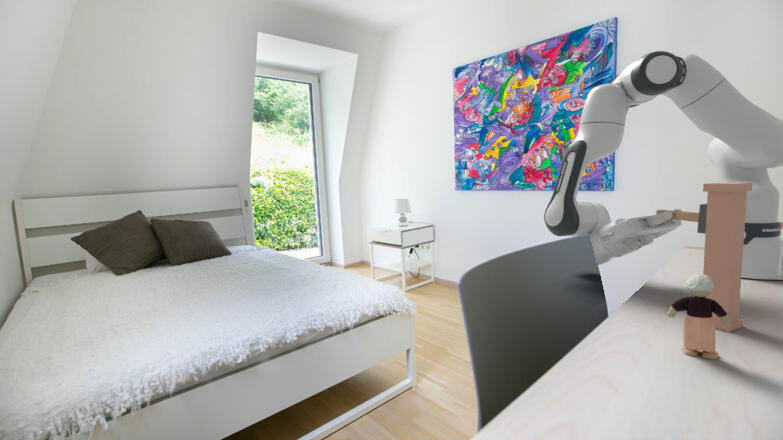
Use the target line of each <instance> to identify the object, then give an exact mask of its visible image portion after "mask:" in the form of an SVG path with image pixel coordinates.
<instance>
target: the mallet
mask: <svg viewBox="0 0 783 440" xmlns="http://www.w3.org/2000/svg"><path fill="white" fill-rule="evenodd" d="M665 211H669V209H656V211H655V212H656V214H655V215H657V214H661V213H663V212H665ZM672 211H673V212H674V214H675V215H676V216H675V217H674V218H672V219H673V220H680V221H684V222H692V223H693V222H694V223H697V233H698V234H705V233H706V215H707V203H702V204H699V210H698V212H693V211H683V210H682V211H674V210H672Z"/></svg>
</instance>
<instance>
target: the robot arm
mask: <svg viewBox="0 0 783 440" xmlns="http://www.w3.org/2000/svg"><path fill="white" fill-rule="evenodd" d="M659 95H663V96H664V97H666V98H669V99H670V100H671V101H672V102H673V103H674V104H675V105H676V106H677V108H678V109H679V110H680V111H681V112H682V113H683V114H684V115H685V116H686V117H687V119H688V120H690V122H691V123H692V124H693V125H695V127H696V128H697V129H698V130H700V131H702V132H704V133H707V134H709V135H711V136H713V137H714V138H713V139H712V141H711V142H709V144H708V147H707V157H708V159H709V161H710V162H711V163H712V164H713V166H714V167H715V169H716V172H717V176H718V181H719V183H753V185H752V191H747V199H746V214H745V229H744V244H743V259H742V274H741V279H744V278H745V279H752V280H775V281H777V280H778V281H779V280H780V281H783V240H782V239H781V237H780V236H781V234H782V232H781V230H783V222H782V221H778V220H779V208H780V207H779V206H780V195H781V194H780V191H779V189H778V188H777V187H776V186H775V185H774V184H773V182H772V181H771V178H770V176H769V172H768V169H775V168H779V167H783V119H780V118H778V117H776V116H775V115H773V114H771V113H769V112H768V111H766V110H765V109H763V108H761V107H759V106H757V105H756V104H754V103H753V102H752V101H750V100H749V99H748V98H746V97H745V96H744V95H743V94H742V93H741V92H740V91H739V90H738V89H737V88H736V87H734V85H733V84H732V83H731V82H730V81H729V80H728V79H727V78H726V77H725V76H724V75H723V74H722V72H720V71H719V70H717V68H715V66H713V65H711V64H710V63H709V62H708V61H707V60H705V59H703V58H701V57H700V56H698V55H695V54H693V53H692V54H685V55H682V56H678V55H675V54H674V53H672V52H668V51H664V50H657V51H652V52H649V53H646V54H644V55H642V56H641V57H640V58H638V59H637V60H635V61H633V62H632V63H630V64H628V65H627V66H626V67H625V68H624V69H623V70H622V71H621V72H620V73H618V74H617V75H616V76H615V77H614V78H613V80H612V81H611V82H610V83H603V84H600V85H598V86H595V87H593V88H592V89H591V90H590V91H589V92H588V94H587V95H586V99H585V102H584V105H583V109H582V111H581V116H580V121H579V126H578V132H577V135H576V137H575V139H574V141H573V142H572V143H570V144H569V145H568V146H567V148H566V151H565V153H564V156H563V159H562V162H561V165H560V169H559V172H558V175H557V179H556V181H555V185H554V189H553V193H552V195H551V197H550V200H549V201H548V204H547V206H546V208H545V211H544V215H543V219H544V224H545V226H546V228H547V229H548V231H549V232H550V233H551V234H552V235H554V236H556V237H567V236H568V237H570V238H571V237H575V236H581V235H585V234H589V235H590V238H591V242H592V246H593V250H594V254H595V257H596V261H595V262H597V265H598V266H600V265H603V264H606V263H608V262H610V261H611V260H612V259H615V258H621V257H623V256H626V255H628V254H631V253H633V252H637V251H639V250H640V249H641V248H642V247H645V246H647V245H651V244H652V243H654V240H655V239H657V238H660V237H662V236H664V235H666V234H668V233H670V232H672V231H674V230H676V229H678V228H679V227H681V226H682V224H683V223H682V220H673V219H672V218H674V217H675V216H676V215H675V214H674V212H673V211H683V210H682V209H680V208H678V209H674V210H669V209H668V210H669V211H665V212H663V213H661V214H657V215H656V214H653V215H645V216H637V217H636V216H635V217H629V218H626V219H625V218H618V219H616V220H613V221H611V217H610V215H609V214H610V213H609V211H608V210H607V208H606V207H605V206H604V205H602V204H600V203H597V202H590V201H578V200H577V196H578V192H579V189H580V185H581V182H582V178H583V174H584V173H585V170H586V169H587V168H588V166H590V165H591V164H592V163H594V162H596V161H599V160H603V159H606V158H607V157H609V156H611V155H612V154H614V153H615V152H616V151H618V149H619V148H620V145H621V144H622V141H623V137H624V133H625V127H626V119H627V114H628V113H629V112H628V111H629V109H630V108H635V107H637V106H640V105H642V104H644V103H648V102H650V101H652V100H653V99H655V98H656V97H657V96H659ZM594 254H593V255H594ZM702 268H704V262H703V263H702Z"/></svg>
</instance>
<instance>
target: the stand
mask: <svg viewBox="0 0 783 440" xmlns="http://www.w3.org/2000/svg"><path fill="white" fill-rule="evenodd" d="M702 185H703V186H702V187H703V188H702V192H703V193H704V192H706V193H707V199H706V204H707V215H706V233H705V235H704V236H705V237H704V251H703V253H704V254H703V255H704V256H703V263H704V267H703V271H702V272H703V273H702V275H706V276H709V277H710V278H711V279H712V281H713V289H712V290H713V291H711V292H710V294H709V295H708V296H706V297H705V298H709V299H712V300H715V301H716V302H717V303H718V304H720V305H721V307H722V308H723V309H724V310H725V311H726V312H727V315H728V317H729V321H730V322H731V323H732V326H731V327H729V328H727V327H725V326H724V325H723V322H722V321H721V320H720V318H719V317H718V316H717V315H716V314H715V313H713V312H712V317H713V319H714V325H715V330H716V329H717V330H720V331H723V332H727V333H730V332H732V331H735V330H737V329H740V328H742V327H744V319H741V318H739V316H740V302H741V300H740V299H741V289H742V287H741V285H742V277H741V274H742V259H743V244H744V229H745V214H746V199H747V191H752V185H753V183H720V182H712V183H711V182H709V183H708V182H707V183H702Z"/></svg>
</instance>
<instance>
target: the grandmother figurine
mask: <svg viewBox="0 0 783 440" xmlns="http://www.w3.org/2000/svg"><path fill="white" fill-rule="evenodd" d="M685 288H687V289H688V291H689V292H690V293H691V295H692V296H684V297H681V298H679V299H677V300H675V301H674V302H672V303H671V304H670V307H669V309H668V310H669V311H667V312H666V315H667V317H668V318H675V315H676V314H677V313H678V312H685V315H684V317H683V330H682V333H683V335H682V336H683V337H682V338H683V346H682V347H681V350H682V352H683V353H684V355H686V356H690V357H697V356H698V355H699V353H698V352H699V351H702V352H701V356H702V358H705V359H708V360H716V359H718V358H719V357H720V355H719V353H718V352H717V351H716V346H717V345H716V342H717V341H716V328H715V325H714V319H713V317H712V312H713V313H715V314H716V315H717V316H718V317H719V318H720V320H721V321H722V322H723V325H724V326H725V327H727V328H729V327H731V326H732V323H731V322H730V321H729V317H728V315H727V312H726V311H725V310H724V309H723V308H722V307H721V305H720V304H718V303H717V302H716V301H715V300H712V299H709V298H705V297H706V296H708V295H709V294H710V292H711V291H713V290H712V289H713V281H712V279H711V278H710V277H709V276H706V275H703V273H702V274H701V273H697V274H694V275H691V276H690V277H689V278H688V279H687V280H686V281H685Z"/></svg>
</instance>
